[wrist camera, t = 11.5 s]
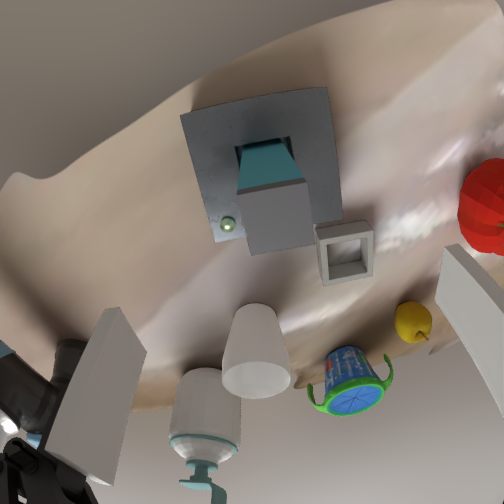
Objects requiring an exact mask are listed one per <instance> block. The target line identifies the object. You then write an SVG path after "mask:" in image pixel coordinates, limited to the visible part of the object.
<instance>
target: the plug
mask: <svg viewBox="0 0 504 504" xmlns="http://www.w3.org/2000/svg"><path fill="white" fill-rule="evenodd" d="M236 196H237V200H238V204H239V208H240V213H241V217H242V221H243V225H244V229H245V233H246V237H247V241H248V245H249V249H250V253H251V256H253V255H258V254H264V253H269V252H275V251H280V250H286V249H291V248H297V247H302V246H308V245H313V244H315V239H314V231H313V222H312V215H311V207H310V200H309V193H308V186H307V182H306V180H305V178H304V176H303V175H302V173H301V171H300V170H299V168H298V167H297V165H296V163H295V162H294V160H293V158H292V157H291V155H290V154H289V152H288V150H287V149H286V147H285V146H284V144H283V142H282V141H281V139H280V138H275V139H269V140H264V141H259V142H254V143H249V144H244V145H243V150H242V157H241V164H240V172H239V179H238V187H237V194H236Z"/></svg>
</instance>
